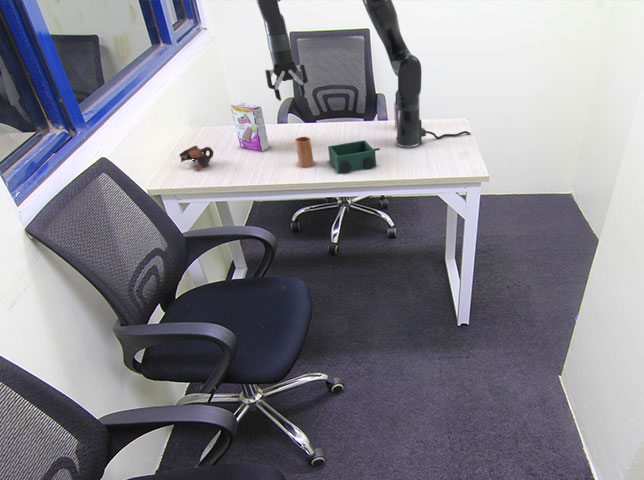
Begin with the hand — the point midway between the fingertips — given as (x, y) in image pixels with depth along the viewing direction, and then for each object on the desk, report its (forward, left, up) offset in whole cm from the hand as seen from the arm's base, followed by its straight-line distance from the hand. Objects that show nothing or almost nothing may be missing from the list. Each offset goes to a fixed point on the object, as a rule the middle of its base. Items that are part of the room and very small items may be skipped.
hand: (291, 98), depth 187 cm
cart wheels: (-18, +19, -21) cm, 33 cm away
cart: (-16, +19, -21) cm, 32 cm away
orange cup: (0, +12, -21) cm, 24 cm away
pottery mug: (+37, -4, -21) cm, 43 cm away
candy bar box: (+15, -13, -21) cm, 29 cm away
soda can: (-48, -9, -21) cm, 53 cm away
